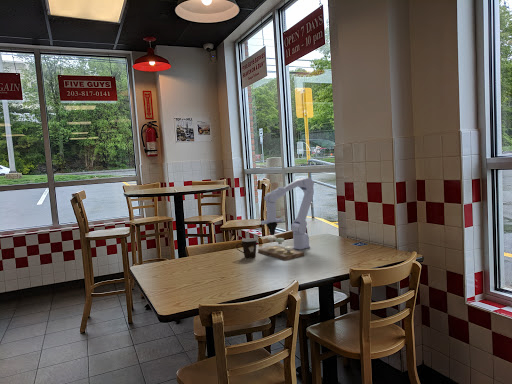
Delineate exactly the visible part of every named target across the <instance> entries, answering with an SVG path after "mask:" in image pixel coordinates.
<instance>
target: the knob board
mask: <svg viewBox="0 0 512 384" xmlns="http://www.w3.org/2000/svg"><path fill="white" fill-rule="evenodd" d="M284 247H285V246H280V245H270V246H267V247H262V248H258V249H257V251H258V253H260V254H263V255H265V256H270V257H273V258H276V259H280V260H283V261H288V260H292V259H295V258H296V257H297V258H300V256H301V257H304V256H305V251H301V250H298V249H293V250H291V252H290V253H287V251H286V250H284Z"/></svg>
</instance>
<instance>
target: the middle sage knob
mask: <svg viewBox="0 0 512 384" xmlns="http://www.w3.org/2000/svg"><path fill="white" fill-rule="evenodd" d="M275 242H276V243H278V245H282V243H284V242H285V238H284V237H278V238H277V237H276V240H275Z"/></svg>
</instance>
